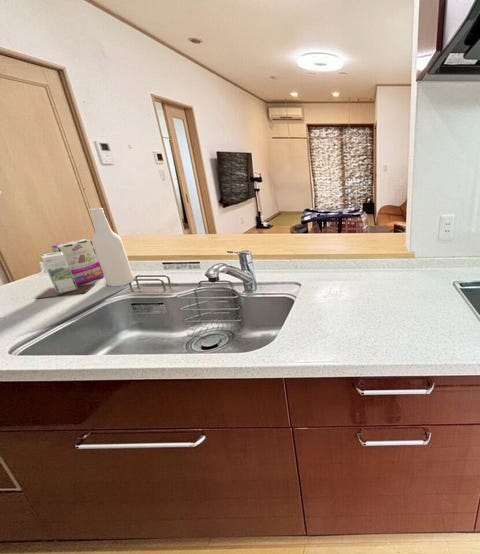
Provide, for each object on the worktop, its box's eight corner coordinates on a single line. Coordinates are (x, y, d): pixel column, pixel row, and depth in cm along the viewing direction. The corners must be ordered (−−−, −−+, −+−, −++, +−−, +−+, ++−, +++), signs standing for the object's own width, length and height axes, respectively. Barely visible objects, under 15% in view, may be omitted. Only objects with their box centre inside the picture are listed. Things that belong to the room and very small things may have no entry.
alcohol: (138, 281, 122) (115, 208, 110) (112, 288, 115) (84, 211, 103) (129, 276, 126) (106, 205, 115) (104, 283, 119) (76, 209, 108)
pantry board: (36, 299, 106) (35, 298, 106) (50, 289, 114) (49, 288, 114) (85, 293, 111) (84, 292, 111) (95, 284, 119) (95, 283, 119)
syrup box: (75, 285, 116) (61, 250, 110) (78, 289, 113) (64, 253, 107) (55, 290, 112) (39, 254, 106) (58, 294, 109) (41, 257, 103)
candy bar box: (97, 275, 128) (83, 238, 121) (105, 276, 126) (92, 239, 120) (66, 285, 118) (49, 245, 112) (74, 286, 116) (58, 246, 110)
